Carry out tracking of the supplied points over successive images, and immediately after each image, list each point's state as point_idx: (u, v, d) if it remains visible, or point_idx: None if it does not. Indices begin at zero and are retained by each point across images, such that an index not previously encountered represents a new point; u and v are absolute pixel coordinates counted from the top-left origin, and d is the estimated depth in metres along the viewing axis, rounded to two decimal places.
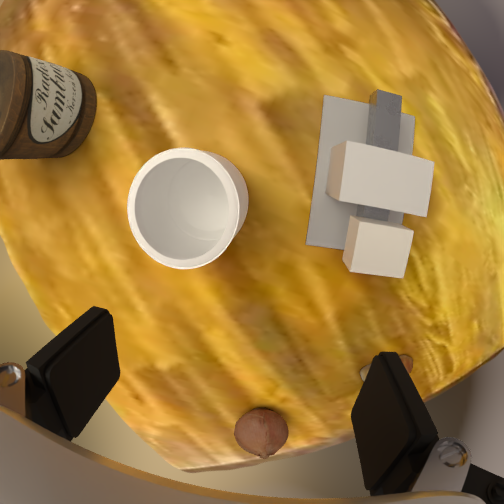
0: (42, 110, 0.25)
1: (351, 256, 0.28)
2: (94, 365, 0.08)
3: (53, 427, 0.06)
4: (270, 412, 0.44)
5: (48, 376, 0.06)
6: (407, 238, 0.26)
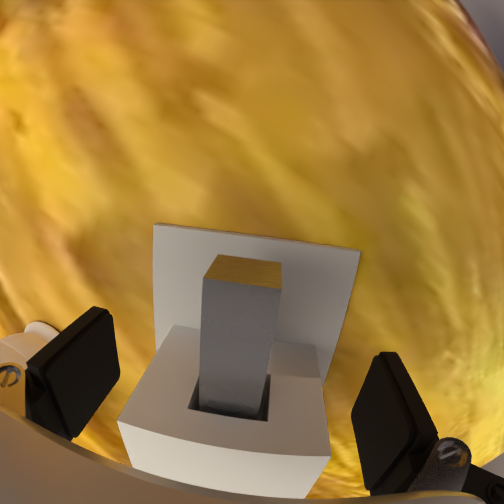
0: None
1: None
2: (94, 365, 0.08)
3: (53, 427, 0.06)
4: None
5: (48, 376, 0.06)
6: None
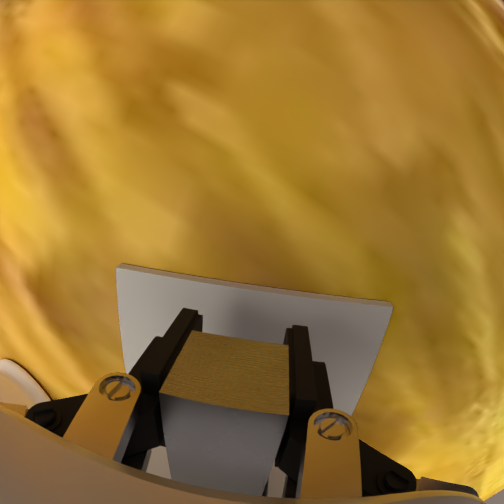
0: None
1: None
2: None
3: (160, 433, 0.07)
4: None
5: None
6: None
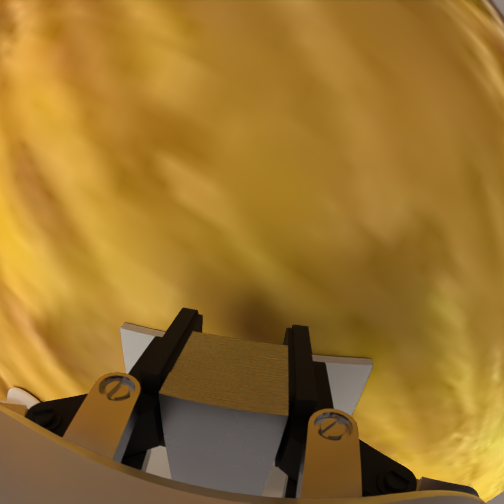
0: None
1: None
2: None
3: (160, 433, 0.07)
4: None
5: None
6: None
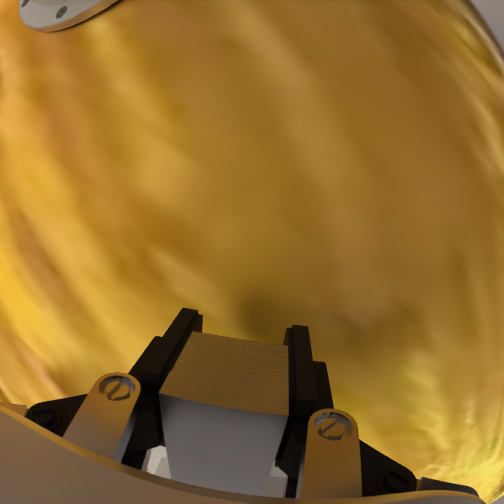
0: None
1: None
2: None
3: (160, 433, 0.07)
4: None
5: None
6: None
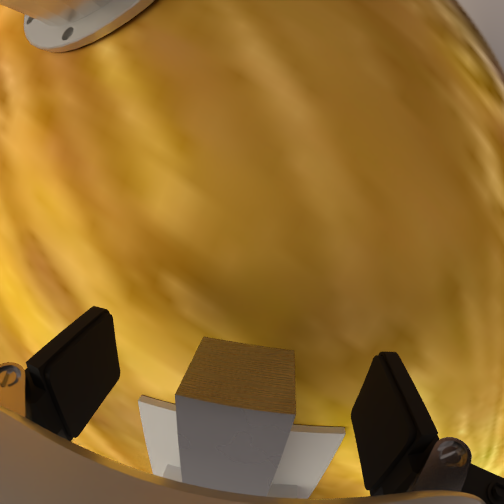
0: None
1: None
2: (94, 365, 0.08)
3: (53, 427, 0.06)
4: None
5: (48, 376, 0.06)
6: None
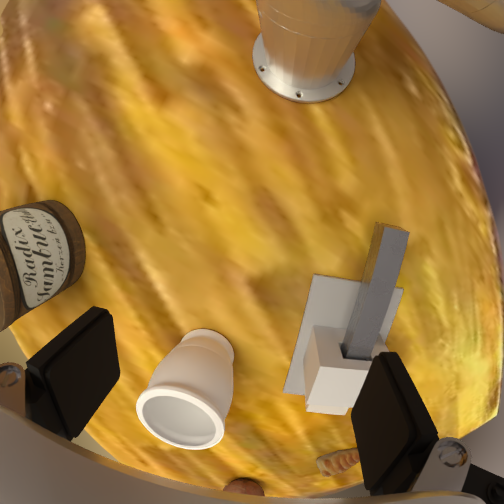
0: (34, 289, 0.29)
1: None
2: (94, 365, 0.08)
3: (53, 427, 0.06)
4: (250, 484, 0.48)
5: (48, 376, 0.06)
6: None
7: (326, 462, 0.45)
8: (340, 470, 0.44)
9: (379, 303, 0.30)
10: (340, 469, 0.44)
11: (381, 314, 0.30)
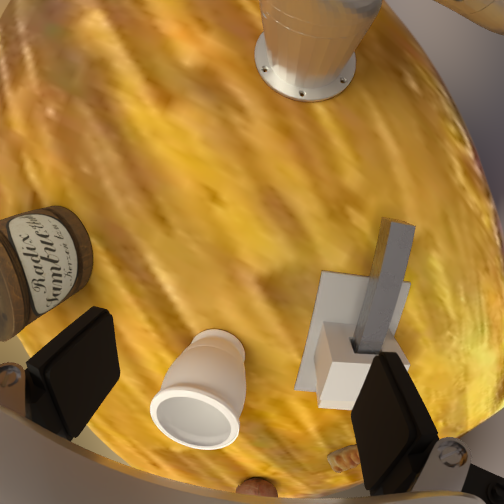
0: (43, 295, 0.29)
1: (317, 388, 0.40)
2: (94, 365, 0.08)
3: (53, 427, 0.06)
4: (263, 483, 0.48)
5: (48, 376, 0.06)
6: None
7: (337, 458, 0.45)
8: (351, 465, 0.44)
9: (388, 297, 0.30)
10: (352, 465, 0.44)
11: (390, 308, 0.30)
